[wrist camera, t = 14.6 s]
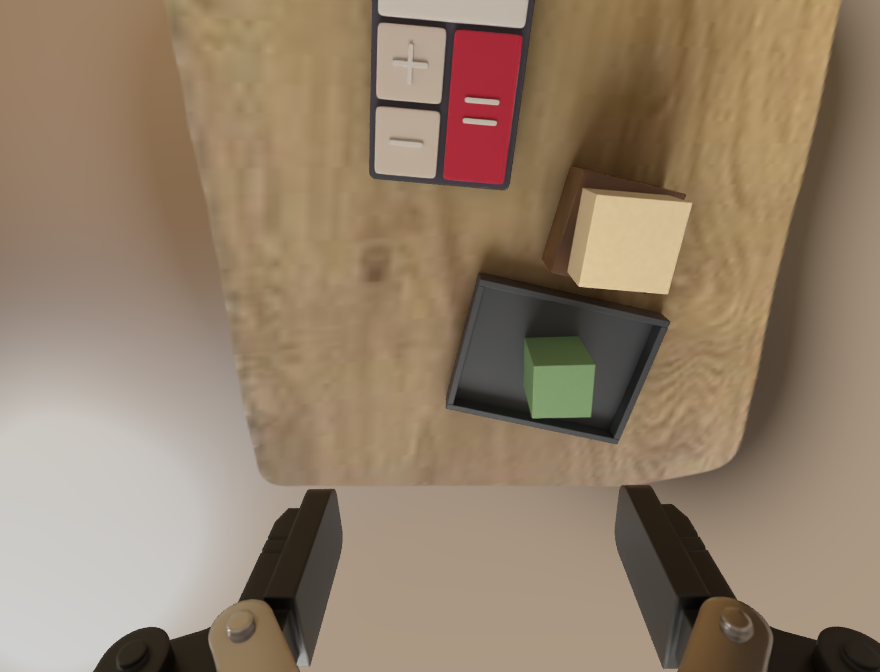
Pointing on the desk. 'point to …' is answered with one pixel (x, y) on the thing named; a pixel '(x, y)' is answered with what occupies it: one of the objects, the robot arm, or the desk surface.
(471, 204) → the desk surface
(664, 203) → the cream block
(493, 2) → the calculator
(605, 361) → the tray
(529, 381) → the green block
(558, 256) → the walnut block
